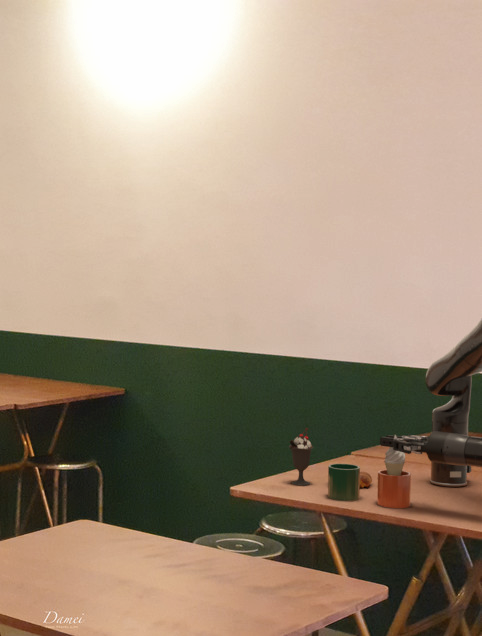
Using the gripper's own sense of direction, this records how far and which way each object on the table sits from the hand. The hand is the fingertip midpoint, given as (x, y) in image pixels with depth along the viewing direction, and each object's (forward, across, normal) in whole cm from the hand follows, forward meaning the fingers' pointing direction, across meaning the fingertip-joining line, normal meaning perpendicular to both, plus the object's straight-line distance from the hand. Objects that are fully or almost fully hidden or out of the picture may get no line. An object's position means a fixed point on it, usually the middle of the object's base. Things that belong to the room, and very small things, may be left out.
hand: (383, 440), depth 274 cm
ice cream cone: (-3, 0, +13) cm, 14 cm away
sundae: (+27, -6, +16) cm, 32 cm away
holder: (-3, 0, +16) cm, 16 cm away
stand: (+10, +2, +16) cm, 19 cm away
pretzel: (+16, -13, +16) cm, 26 cm away
